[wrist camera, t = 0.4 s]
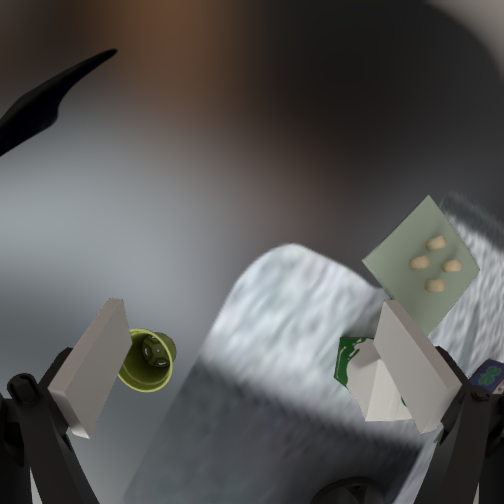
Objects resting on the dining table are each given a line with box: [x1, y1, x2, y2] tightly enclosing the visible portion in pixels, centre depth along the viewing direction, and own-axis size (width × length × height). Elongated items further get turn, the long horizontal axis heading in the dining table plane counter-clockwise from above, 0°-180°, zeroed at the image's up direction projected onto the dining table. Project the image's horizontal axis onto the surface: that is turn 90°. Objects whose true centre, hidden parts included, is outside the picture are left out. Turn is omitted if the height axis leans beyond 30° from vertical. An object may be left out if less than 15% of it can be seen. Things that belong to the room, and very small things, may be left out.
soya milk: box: [334, 337, 413, 421], centre depth 36 cm, size 9×9×20 cm
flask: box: [469, 359, 504, 394], centre depth 39 cm, size 9×3×11 cm, turn 124°
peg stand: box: [362, 195, 480, 337], centre depth 45 cm, size 18×18×6 cm
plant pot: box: [118, 328, 176, 392], centre depth 43 cm, size 9×9×9 cm
